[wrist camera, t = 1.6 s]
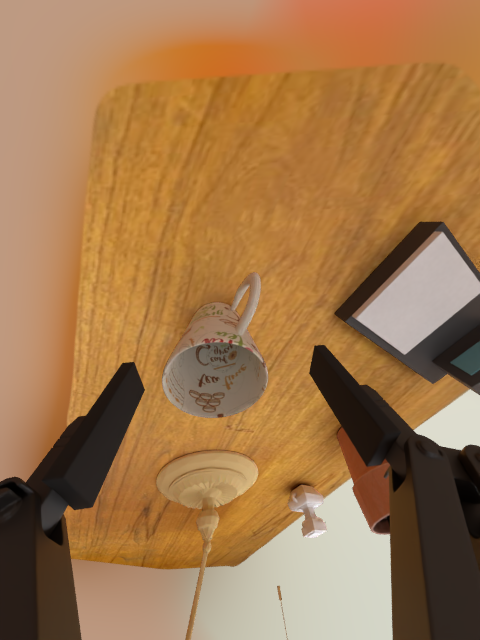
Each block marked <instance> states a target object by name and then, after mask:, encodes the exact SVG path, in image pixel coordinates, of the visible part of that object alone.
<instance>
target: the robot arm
mask: <svg viewBox="0 0 480 640" xmlns="http://www.w3.org/2000/svg"><path fill="white" fill-rule="evenodd" d="M309 374H310V375H311V377H312V378H313V380H314V382H315V383H316V385H317V387H318V388H319V390H320V391H321V393H322V395H323V396H324V398H325V400H326V401H327V403H328V404H329V406H330V408H331V409H332V411H333V413H334V414H335V416H336V418H337V419H338V421H339V422H340V424H341V426H342V427H343V429H344V431H345V432H346V434H347V435H348V437H349V439H350V440H351V442H352V444H353V445H354V447H355V448H356V450H357V452H358V453H359V455H360V457H361V458H362V460H363V461H364V463H365V465H366V466H367V467H370V466H377V465H381V464H382V462H383V461H384V459H386V460H387V462H388V463H389V464H390V466H389V467H388V469H387V470H386V472H385V474H384V478H385V479H386V478H387V477H388V476H389V506H390V544H391V583H392V585H391V586H392V628H393V640H480V447H479V446H476V445H468V446H465V447H464V448H463V450H462V451H461V450H456V449H451V448H446V447H441V446H439V445H438V444H436V443H435V442H434V441H432V440H431V439H429V438H427V437H425V436H422V435H418V434H416V433H415V432H414V431H413V430H412V429H411V428H410V427H409V425H408V424H407V423H406V422H405V421H404V420H403V419H402V418H401V417H400V416H399V415H398V414H397V413H396V412H395V411H394V410H393V409H392V408H391V407H390V406H389V404H388V403H387V402H386V401H385V400H383V398H382V397H381V396H380V395H379V394H378V393H377V392H376V391H375V390H374V389H372V388H371V387H369V386H368V385H359V384H358V383H357V381H356V380H355V379H354V378H353V377H352V376H351V375H350V373H349V372H348V371H347V370H346V369H345V368H344V367H343V366H342V364H341V363H340V362H339V361H338V360H337V359H336V358H335V357H334V355H333V354H332V353H331V352H330V351H329V350H328V349H327V347H326V346H325V345H318V346H314V351H313V357H312V362H311V367H310V372H309ZM144 391H145V389H144V387H143V384H142V382H141V379H140V376H139V374H138V371H137V368H136V366H135V363H134V362H129V363H122V365H121V366H120V368H119V369H118V370H117V372H116V373H115V375H114V376H113V378H112V379H111V381H110V382H109V383H108V385H107V386H106V388H105V389H104V391H103V392H102V394H101V395H100V396H99V398H98V399H97V401H96V402H95V404H94V405H93V407H92V408H91V409H90V411H89V412H88V414H87V415H86V416H81V417H78V418H77V419H76V420H74V421H73V422H72V423H71V424H70V425H69V426H68V427H67V428H66V430H65V431H64V432H63V434H62V435H61V436H60V439H58V440H57V442H56V443H55V444H54V446H53V448H51V450H50V451H49V452H48V454H47V455H46V456H45V458H44V459H43V460H42V462H41V463H40V464H39V466H38V467H37V469H36V470H35V471H34V473H33V474H32V475H31V476H30V478H29V479H28V480H27V482H26V483H25V482H24V481H23V480H22V479H20V478H18V477H12V478H7V479H5V480H3V481H1V482H0V640H81V633H80V625H79V617H78V610H77V602H76V594H75V587H74V579H73V571H72V564H71V556H70V549H69V541H68V534H67V526H66V519H65V516H64V514H63V513H64V511H65V510H66V508H67V506H68V505H69V506H70V507H72V508H73V509H74V510H78V509H84V508H91V507H93V505H94V503H95V500H96V498H97V496H98V494H99V491H100V489H101V487H102V485H103V482H104V480H105V478H106V476H107V474H108V471H109V469H110V467H111V465H112V462H113V460H114V458H115V456H116V453H117V451H118V449H119V447H120V444H121V442H122V440H123V438H124V435H125V433H126V431H127V429H128V426H129V424H130V422H131V420H132V417H133V415H134V413H135V411H136V408H137V406H138V404H139V402H140V400H141V397H142V395H143V393H144Z"/></svg>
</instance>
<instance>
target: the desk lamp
mask: <svg viewBox="0 0 480 640" xmlns="http://www.w3.org/2000/svg"><path fill="white" fill-rule="evenodd" d="M257 476H258V468H257V466H256V464H255V462H254V461H253V460H252V459H250V458H249V457H247V456H245V455H242V454H240V453H237V452H232V451H226V450H209V451H200V452H195V453H191V454H187V455H184V456H182V457H179V458H177V459H175V460H173V461H171V462H170V463H168V464H167V465H166V466H164V467H163V468H162V469H161V470H160V472H159V474H158V476H157V481H156V485H157V488H158V490H159V491H160V492H161V493H162V494H163V495H164V496H165V497H166V498H168V499H169V500H172V501H175V502H178V503H180V504H182V505H183V506H187V507H188V508H190V507H192V508H193V509H195V508H198V509H201V508H202V511H201V512H200V513H199V515H198V518H197V521H196V524H197V527H198V530H199V531H200V532H201V535H202V538H203V540H204V544H203V551H204V553H203V558H202V563H201V568H200V572H199V577H198V582H197V587H196V591H195V596H194V601H193V606H192V610H191V615H190V620H189V625H188V630H187V634H186V640H190V639H191V634H192V630H193V625H194V619H195V615H196V609H197V605H198V600H199V595H200V590H201V585H202V580H203V574H204V570H205V565H206V560H207V555H208V553H209V552H210V550H211V542H210V540H211V539H212V535H213V532H214V530H215V529H216V528H217V525H218V521H219V516H218V513H217V511H215V510H214V507H218V506H220V505H222V506H223V505H224V504H225V503H229V502H230V501H232V500H233V499H234V498H236V497H237V496H239V495H242V494H243V493H244V492H245V491H246V490H248V489H249V488H250V487H251V486H252V485H253V484H254V483H255V481H256V480H257ZM277 588H278V594H279V599H280V600H282V598H281V592H280V586H277Z"/></svg>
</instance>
